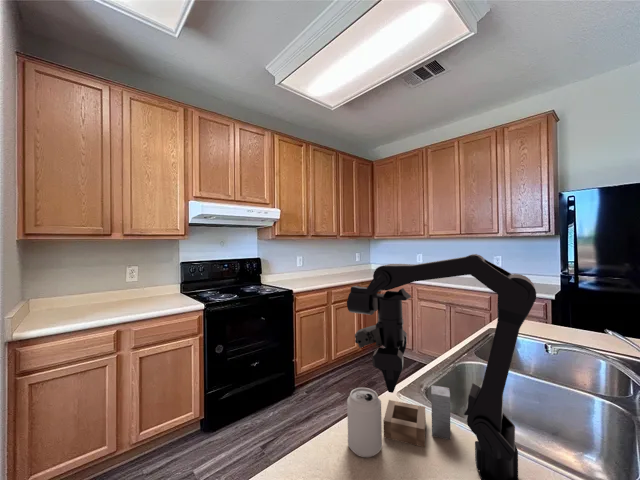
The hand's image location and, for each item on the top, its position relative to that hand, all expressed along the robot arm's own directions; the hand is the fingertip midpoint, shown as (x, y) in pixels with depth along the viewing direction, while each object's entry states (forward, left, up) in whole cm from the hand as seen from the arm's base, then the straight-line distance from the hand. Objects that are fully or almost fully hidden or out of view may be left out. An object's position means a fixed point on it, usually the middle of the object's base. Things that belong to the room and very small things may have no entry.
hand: (392, 382), depth 68 cm
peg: (-11, -4, -12) cm, 17 cm away
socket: (-3, -2, -12) cm, 13 cm away
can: (+5, +7, -12) cm, 15 cm away
